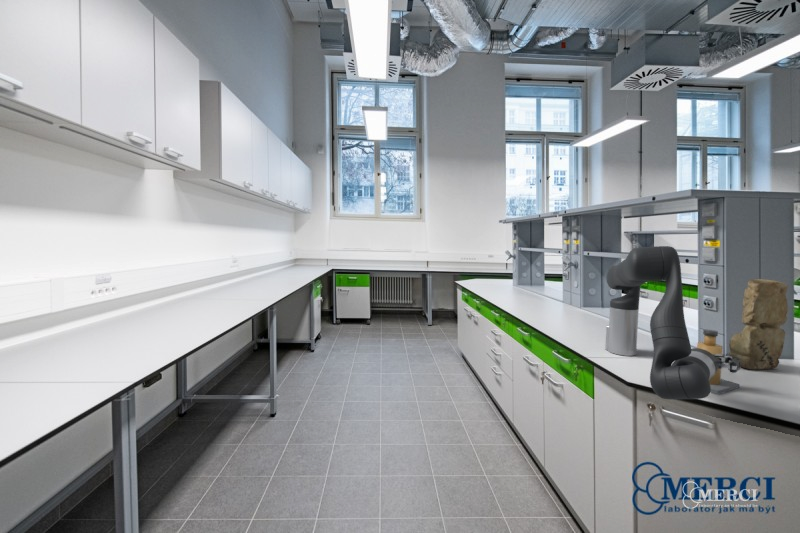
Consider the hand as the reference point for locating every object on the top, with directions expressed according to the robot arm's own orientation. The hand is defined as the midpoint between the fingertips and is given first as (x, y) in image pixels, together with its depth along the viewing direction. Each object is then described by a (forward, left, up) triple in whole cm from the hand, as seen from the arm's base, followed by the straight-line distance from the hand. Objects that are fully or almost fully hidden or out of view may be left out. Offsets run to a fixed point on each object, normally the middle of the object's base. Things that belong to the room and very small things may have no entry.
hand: (708, 353), depth 99 cm
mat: (-2, +6, -11) cm, 13 cm away
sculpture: (-4, +38, -11) cm, 40 cm away
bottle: (-2, +6, -10) cm, 12 cm away
